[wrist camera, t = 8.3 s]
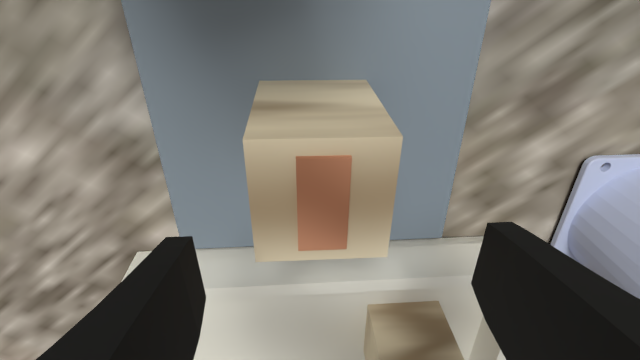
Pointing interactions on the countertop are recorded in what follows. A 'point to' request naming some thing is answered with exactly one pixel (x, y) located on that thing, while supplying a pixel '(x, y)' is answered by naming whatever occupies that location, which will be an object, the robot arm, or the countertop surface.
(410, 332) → the plain block
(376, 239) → the labelled block
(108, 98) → the countertop surface
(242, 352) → the parts tray
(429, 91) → the slate pad
